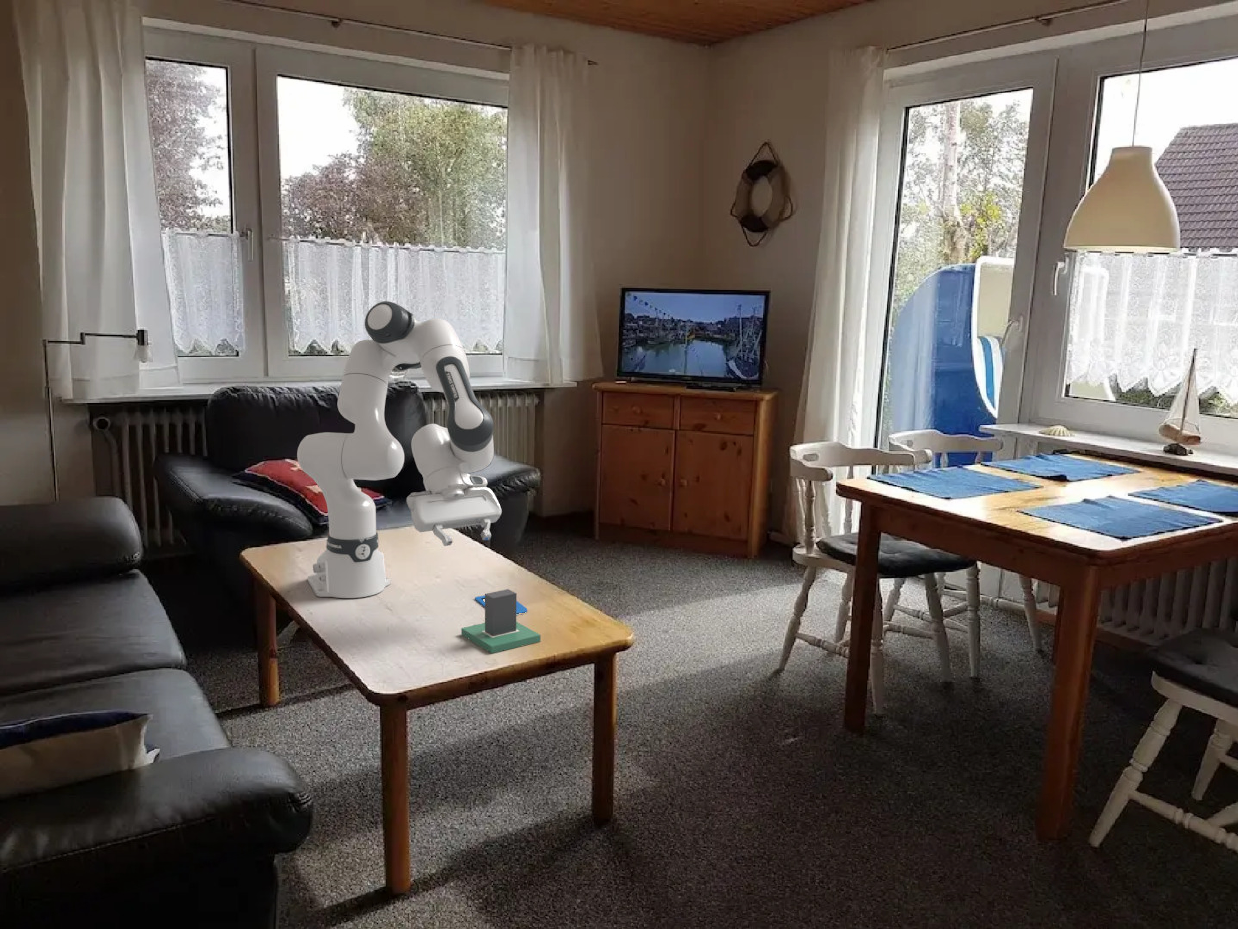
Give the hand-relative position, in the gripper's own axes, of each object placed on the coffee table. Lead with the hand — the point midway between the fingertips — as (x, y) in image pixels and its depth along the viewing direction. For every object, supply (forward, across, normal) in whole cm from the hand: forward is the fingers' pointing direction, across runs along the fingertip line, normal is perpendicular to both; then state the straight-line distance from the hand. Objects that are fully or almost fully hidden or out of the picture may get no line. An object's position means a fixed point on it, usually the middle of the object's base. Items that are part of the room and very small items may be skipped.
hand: (468, 541), depth 208 cm
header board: (+20, +4, +9) cm, 22 cm away
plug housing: (+19, +4, +8) cm, 21 cm away
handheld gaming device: (+7, +14, +22) cm, 27 cm away
